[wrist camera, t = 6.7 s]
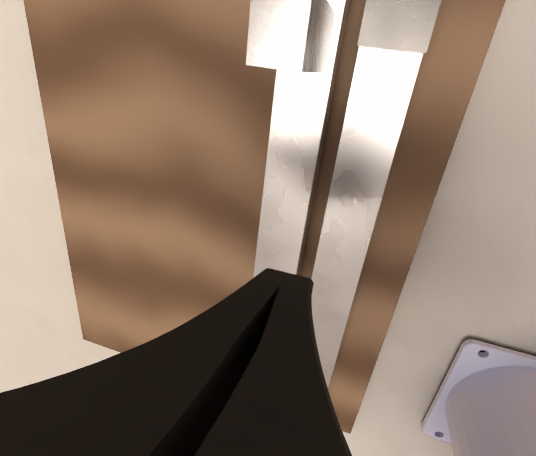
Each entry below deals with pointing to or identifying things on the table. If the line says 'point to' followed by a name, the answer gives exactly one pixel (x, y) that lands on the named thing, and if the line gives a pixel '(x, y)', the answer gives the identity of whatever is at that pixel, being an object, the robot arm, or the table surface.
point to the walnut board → (220, 162)
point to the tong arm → (294, 115)
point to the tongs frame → (365, 157)
